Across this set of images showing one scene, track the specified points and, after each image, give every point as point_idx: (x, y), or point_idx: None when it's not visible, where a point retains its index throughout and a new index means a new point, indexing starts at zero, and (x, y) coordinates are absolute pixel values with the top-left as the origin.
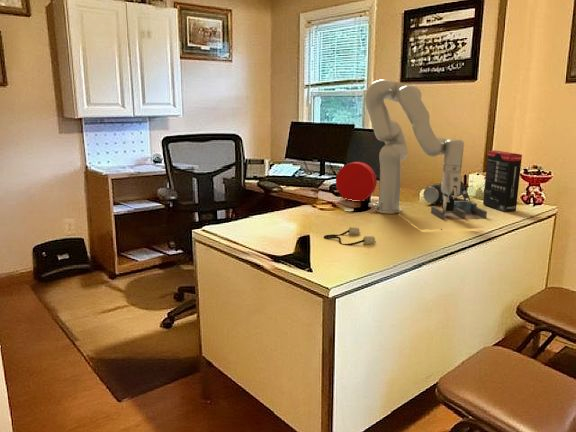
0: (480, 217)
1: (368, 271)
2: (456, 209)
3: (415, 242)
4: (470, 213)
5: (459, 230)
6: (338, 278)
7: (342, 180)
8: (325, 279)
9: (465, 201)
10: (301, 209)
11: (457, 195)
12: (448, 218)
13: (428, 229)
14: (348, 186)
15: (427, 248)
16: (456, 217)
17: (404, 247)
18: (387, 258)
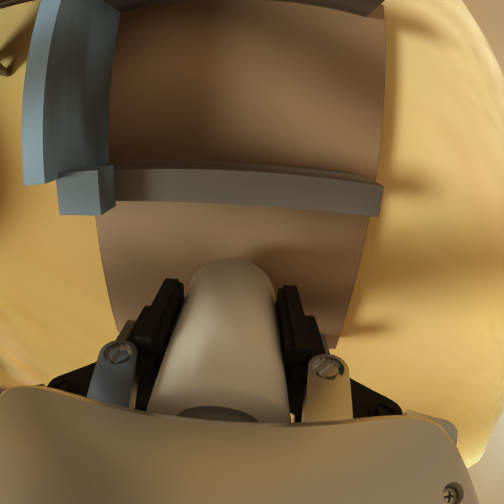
0: (335, 19)
1: (482, 450)
2: (201, 200)
3: (463, 428)
4: (164, 27)
5: (482, 314)
6: (473, 462)
7: None
8: (467, 467)
9: (48, 43)
10: None
11: (388, 423)
12: (318, 303)
13: (410, 407)
14: None
15: (495, 410)
16: (300, 226)
17: (466, 438)
18: (475, 446)
